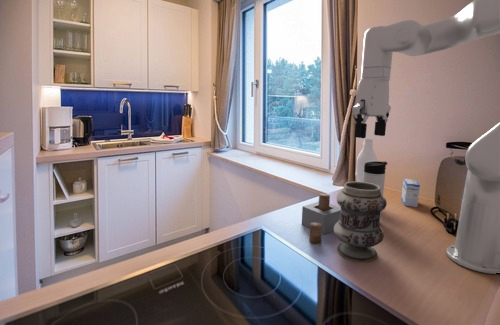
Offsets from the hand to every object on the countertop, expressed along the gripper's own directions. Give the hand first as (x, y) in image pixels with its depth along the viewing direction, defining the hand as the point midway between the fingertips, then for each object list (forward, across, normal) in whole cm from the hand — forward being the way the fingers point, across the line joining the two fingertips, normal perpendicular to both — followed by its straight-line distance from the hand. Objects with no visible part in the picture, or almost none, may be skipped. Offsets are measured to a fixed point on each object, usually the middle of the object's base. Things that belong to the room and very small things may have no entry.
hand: (370, 136), depth 87 cm
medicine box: (+28, -35, -3) cm, 45 cm away
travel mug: (+28, -6, -1) cm, 29 cm away
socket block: (+28, +9, -8) cm, 31 cm away
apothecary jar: (+28, +15, +8) cm, 33 cm away
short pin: (+28, +19, -2) cm, 34 cm away
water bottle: (+28, -20, -13) cm, 37 cm away
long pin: (+28, +9, -8) cm, 31 cm away
